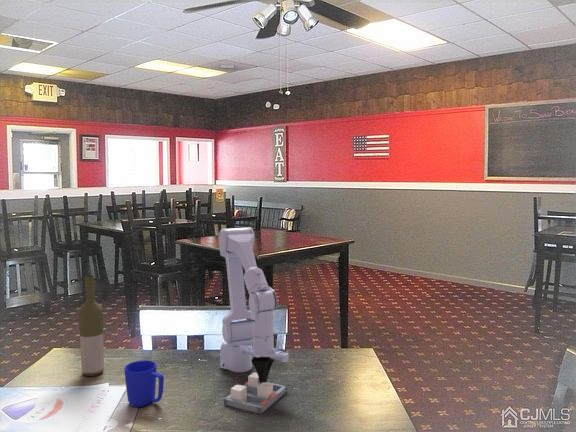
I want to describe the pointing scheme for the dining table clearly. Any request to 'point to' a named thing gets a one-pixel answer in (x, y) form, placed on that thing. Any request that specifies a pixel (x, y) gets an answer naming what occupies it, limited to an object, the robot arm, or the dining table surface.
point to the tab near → (239, 393)
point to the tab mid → (264, 390)
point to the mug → (142, 383)
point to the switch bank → (257, 399)
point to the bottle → (91, 332)
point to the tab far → (253, 380)
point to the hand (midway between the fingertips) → (263, 382)
